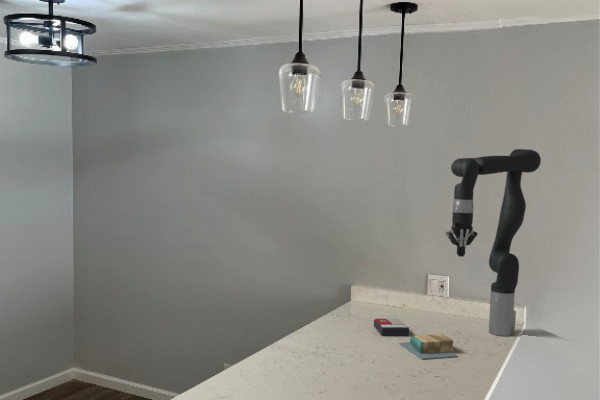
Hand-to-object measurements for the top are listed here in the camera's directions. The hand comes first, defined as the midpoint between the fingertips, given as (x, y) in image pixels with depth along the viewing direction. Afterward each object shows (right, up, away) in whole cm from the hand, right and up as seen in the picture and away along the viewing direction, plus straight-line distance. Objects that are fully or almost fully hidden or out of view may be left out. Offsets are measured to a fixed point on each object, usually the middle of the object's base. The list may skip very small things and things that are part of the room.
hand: (460, 256), depth 228 cm
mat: (-15, -33, -10) cm, 38 cm away
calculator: (-25, -32, +13) cm, 43 cm away
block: (-7, -31, -8) cm, 33 cm away
